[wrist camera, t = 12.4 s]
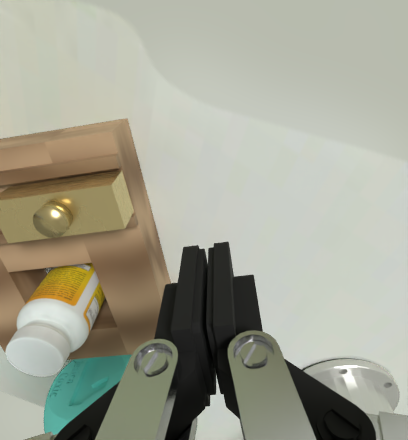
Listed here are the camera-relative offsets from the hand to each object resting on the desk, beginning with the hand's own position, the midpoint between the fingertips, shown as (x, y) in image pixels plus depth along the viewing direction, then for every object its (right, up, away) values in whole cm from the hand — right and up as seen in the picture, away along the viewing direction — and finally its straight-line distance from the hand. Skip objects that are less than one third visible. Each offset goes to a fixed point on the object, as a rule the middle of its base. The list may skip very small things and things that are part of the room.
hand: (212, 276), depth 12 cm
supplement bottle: (-12, -3, +19) cm, 22 cm away
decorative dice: (-11, -15, +26) cm, 32 cm away
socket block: (-12, 0, +17) cm, 21 cm away
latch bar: (-9, +4, +10) cm, 14 cm away
